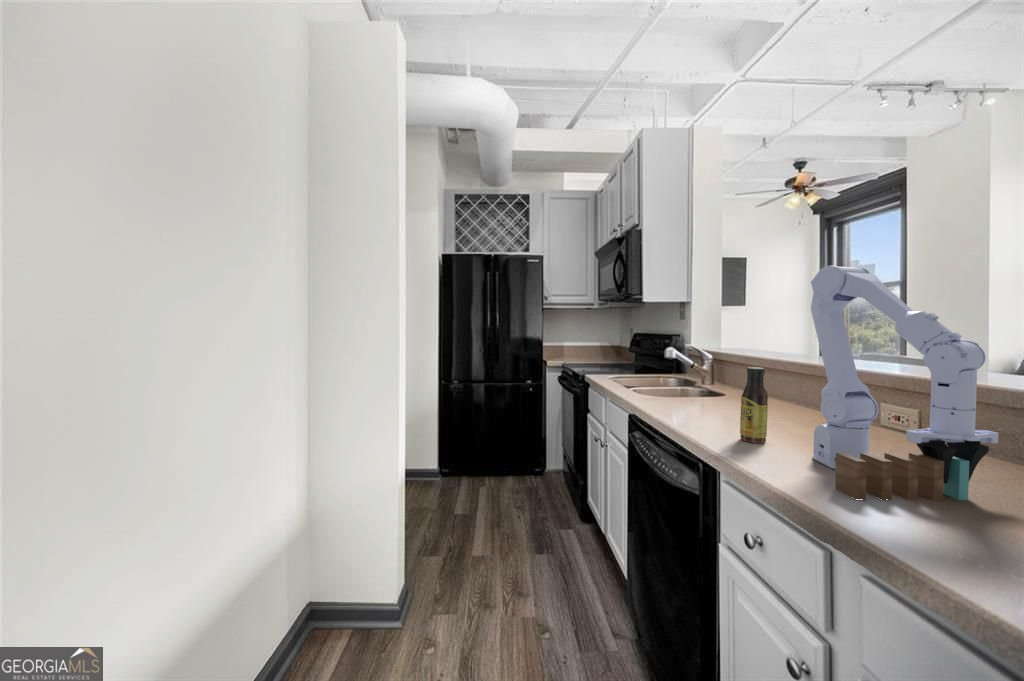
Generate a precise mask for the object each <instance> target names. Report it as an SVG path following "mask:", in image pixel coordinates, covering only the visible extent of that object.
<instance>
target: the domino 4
mask: <svg viewBox="0 0 1024 681" xmlns="http://www.w3.org/2000/svg"><path fill="white" fill-rule="evenodd" d="M908 458H910V459H913V460H916V461H918V486H917V495H920V496H923V497H924V496H925V497H924V498H927V499H929V498H930V499H929V500H931V499H932V501H944V494H943V484H944V461H942V460H938V459H935V458H932V457H929V456H926V455H923V453H919V452H908Z"/></svg>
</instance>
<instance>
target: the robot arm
mask: <svg viewBox="0 0 1024 681" xmlns="http://www.w3.org/2000/svg"><path fill="white" fill-rule="evenodd" d="M810 284H811V287H812V288H811V289H812V291H813V292H812V293H813V294H812V299H811V304H810V311H811V315H812V320H813V324H814V328H815V332H816V337H817V340H818V345H819V350H820V353H821V357H822V362H823V368H824V370H825V374H826V379H827V384H826V385H825V386H824V387H823V389H822V390H821V392H820V394H821V402H820V413H821V415H822V416H823V418H824V419H825V420H826V423H824V424H819V425H817V426H816V427H815V428H814V432H813V455H812V456H811V459H812V460H813V459H814V460H815V461H816V462H819V463H821V464H823V465H825V466H827V467H829V468H830V469H833V470H836V453H846V454H849V455H851V456H854V457H857V458H859V459H860V453H870V444H871V443H870V440H871V439H870V438H871V426H872V421H873V420H875V419H876V418H877V417H878V414H879V411H880V410H879V405H878V403H877V400H875V399H874V397H873V396H872V394H871V392H870V389H869V387H868V386H867V385H866V384H865V383H863V381H861V380H860V379H859V375H858V373H857V368H856V364H855V360H854V356H853V352H852V348H851V344H850V341H849V340H850V339H849V336H848V333H847V329H846V325H845V324H846V323H845V320H844V316H843V313H842V312H843V311H844V309H846V307H847V306H848V305H849V304H850V303H852V302H853V301H854V300H856V299H858V298H861V299H864V300H865V301H866V302H867V303H868V304H870V305H871V306H872V307H874V308H876V309H877V310H878V311H879V312H881V313H882V314H884V315H885V316H886V317H887V318H889V319H890V320H892V321H893V322H894V323H895V326H894V328H895V329H894V331H895V332H896V333H897V334H898V335H899V336H900V337H901V338H902V339H904V340H905V341H906V342H907V343H908V344H910V345H911V346H912V347H913V348H914V349H915V350H917V351H918V352H919V353H920V354H921V355H923V356H922V360H923V363H924V365H925V366H926V367H927V369H928V370H929V371H930V379H931V380H930V409H929V410H930V412H929V413H930V414H929V427H926V428H919V429H909V430H908V429H907V430H905V431H906V434H905V436H906V438H905V440H906V441H907V442H910V443H913V444H916V445H917V447H918V449H919V450H920V451H921V454H923V455H926V456H929V457H932V458H935V459H938V460H942V461H944V483H947V482H948V479H949V469H950V464H951V460H952V458H953V456H954V457H958V458H961V459H964V460H968V461H969V482H970V480H971V479H972V475H973V473H974V471H975V469H976V467H977V466H978V464H979V463H980V461H981V460H982V459H983V458H984V457H985V456H986V455H987V454H988V453H989V452H990V447H989V446H988V445H985V444H981V443H989V444H998V443H999V432H995V431H991V430H987V429H976V421H977V420H976V417H977V416H976V414H977V413H976V411H977V393H978V392H977V389H978V386H977V384H978V383H977V381H978V370H979V369H980V368H982V367H983V365H984V364H985V361H986V354H985V351H984V349H983V348H982V347H981V346H980V345H979V343H977V342H975V341H972V340H967V339H966V340H965V339H961V338H962V335H961V334H960V333H958V332H953V331H952V330H950V329H949V328H947V327H946V326H945V325H944V324H943V323H941V322H940V321H939V320H938V319H939V318H940V316H938V315H937V314H935V313H934V312H929V313H928V312H927V311H924V310H917V311H914V310H913V309H912V308H911V307H909V306H908V305H907V304H906V303H905V302H904V301H902V299H901V298H899V297H898V296H897V295H896V294H895V293H894V292H892V290H890V289H889V288H888V287H887V286H886V285H885V284H884V283H882V282H881V280H880V279H879V277H878V276H877V275H876V274H874V273H872V272H870V271H869V270H868V269H867V268H865V267H861V266H856V267H855V266H854V267H851V266H850V267H849V266H838V265H837V266H836V265H826V266H824V267H822V268H820V270H818V272H817V273H816V274H815V276H814V277H813V278H812V280H811V282H810Z"/></svg>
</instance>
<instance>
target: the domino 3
mask: <svg viewBox="0 0 1024 681" xmlns="http://www.w3.org/2000/svg"><path fill="white" fill-rule="evenodd" d="M883 454H884V457H883V458H885V459H887V460H890V461H892V493H893V494H892V493H891V494H892V495H895V496H897V497H899V496H900V497H899V498H901V497H902V499H904V500H905V501H906V500H907V501H918V494H917V486H918V461H916V460H913V459H910V458H909V457H906V456H904V455H901V454H898V453H895V452H884V453H883Z"/></svg>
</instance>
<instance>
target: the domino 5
mask: <svg viewBox="0 0 1024 681" xmlns="http://www.w3.org/2000/svg"><path fill="white" fill-rule="evenodd" d="M969 484H970V481H969V461H968V460H964V459H961V458H958V457H954V456H953V458H952V460H951V464H950V469H949V479H948V482H947V483H944V484H943V495H945V496H948V497H950V498H952V499H954V500H958V501H969V486H970V485H969Z"/></svg>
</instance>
